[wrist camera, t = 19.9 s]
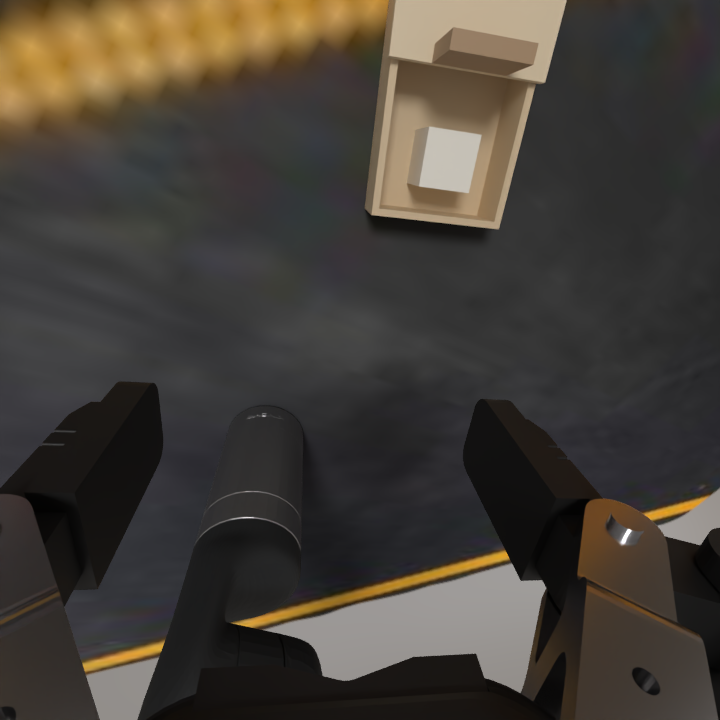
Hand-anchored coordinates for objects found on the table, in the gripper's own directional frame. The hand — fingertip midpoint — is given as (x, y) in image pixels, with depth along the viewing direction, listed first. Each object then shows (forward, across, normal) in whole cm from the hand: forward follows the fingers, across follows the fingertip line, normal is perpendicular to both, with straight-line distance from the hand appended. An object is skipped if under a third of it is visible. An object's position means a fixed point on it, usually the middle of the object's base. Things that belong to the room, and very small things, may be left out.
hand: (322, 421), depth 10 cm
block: (+34, -11, -7) cm, 36 cm away
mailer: (+34, -11, -11) cm, 37 cm away
